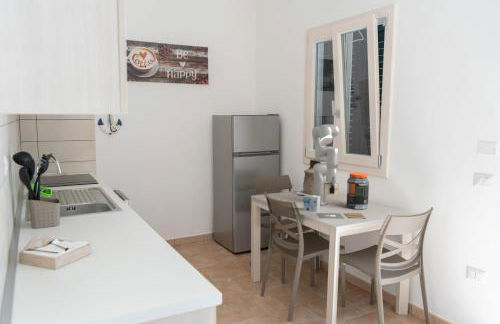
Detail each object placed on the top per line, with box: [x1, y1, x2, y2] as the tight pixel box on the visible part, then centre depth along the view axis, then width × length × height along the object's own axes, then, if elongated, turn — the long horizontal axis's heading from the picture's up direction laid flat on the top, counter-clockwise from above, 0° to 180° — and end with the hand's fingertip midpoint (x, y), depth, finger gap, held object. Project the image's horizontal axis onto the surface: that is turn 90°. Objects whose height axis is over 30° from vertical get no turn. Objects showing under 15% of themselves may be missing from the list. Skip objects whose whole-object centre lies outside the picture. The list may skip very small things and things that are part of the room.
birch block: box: [323, 182, 340, 196], centre depth 264 cm, size 6×9×7 cm, turn 91°
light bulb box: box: [302, 194, 321, 213], centre depth 281 cm, size 11×7×11 cm, turn 62°
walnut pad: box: [343, 212, 367, 220], centre depth 266 cm, size 12×12×1 cm
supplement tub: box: [346, 172, 370, 210], centre depth 291 cm, size 16×16×26 cm
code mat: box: [315, 212, 346, 220], centre depth 266 cm, size 14×17×1 cm
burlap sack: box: [295, 157, 325, 196], centre depth 338 cm, size 25×25×32 cm
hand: (330, 192), depth 265 cm, fingers closed on birch block, 6 cm apart
